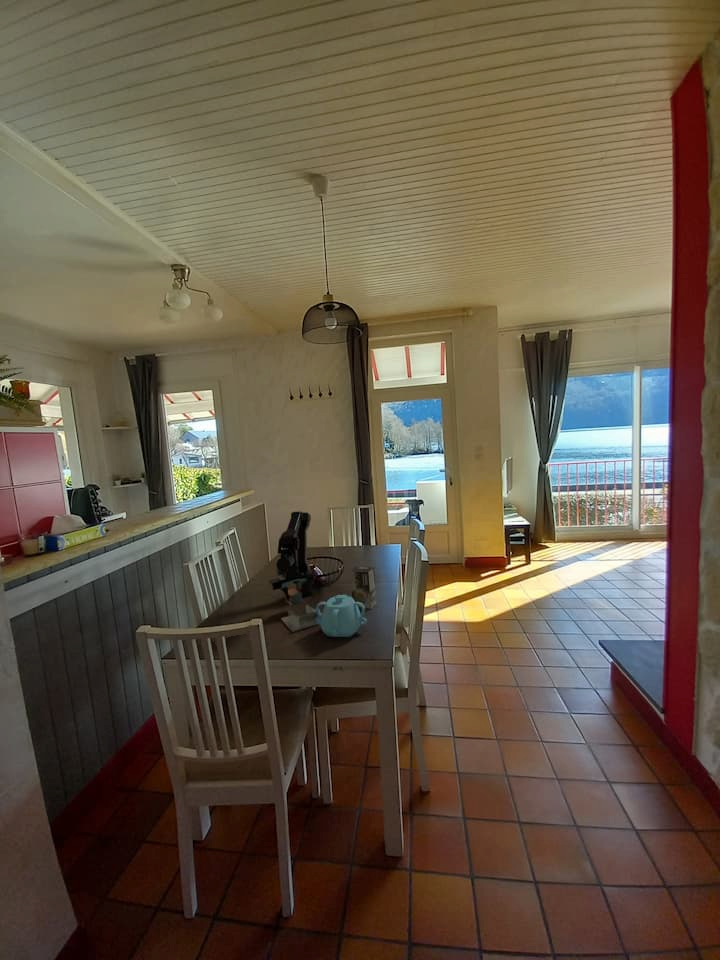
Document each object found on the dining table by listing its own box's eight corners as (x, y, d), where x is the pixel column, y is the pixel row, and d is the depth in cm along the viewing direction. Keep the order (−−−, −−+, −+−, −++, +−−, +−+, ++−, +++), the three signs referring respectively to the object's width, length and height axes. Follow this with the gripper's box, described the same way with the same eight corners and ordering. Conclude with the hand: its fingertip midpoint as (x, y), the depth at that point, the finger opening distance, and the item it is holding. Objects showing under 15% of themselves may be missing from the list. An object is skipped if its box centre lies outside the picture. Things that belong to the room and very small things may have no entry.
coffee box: (377, 603, 169) (374, 567, 167) (371, 609, 163) (368, 572, 162) (358, 601, 173) (355, 565, 171) (352, 606, 167) (349, 570, 165)
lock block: (296, 598, 170) (295, 588, 170) (302, 603, 164) (301, 592, 164) (285, 601, 167) (284, 591, 167) (291, 606, 161) (290, 595, 161)
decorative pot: (371, 633, 142) (369, 597, 141) (331, 646, 134) (328, 608, 133) (351, 618, 156) (349, 585, 155) (314, 628, 149) (311, 594, 148)
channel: (315, 610, 166) (314, 599, 165) (328, 621, 155) (327, 608, 154) (281, 620, 158) (280, 608, 158) (292, 632, 147) (291, 619, 147)
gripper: (304, 555, 176) (306, 588, 177) (263, 564, 167) (266, 599, 168) (313, 560, 166) (316, 596, 168) (271, 570, 157) (275, 607, 158)
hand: (293, 599), depth 166 cm, fingers closed on lock block, 5 cm apart
